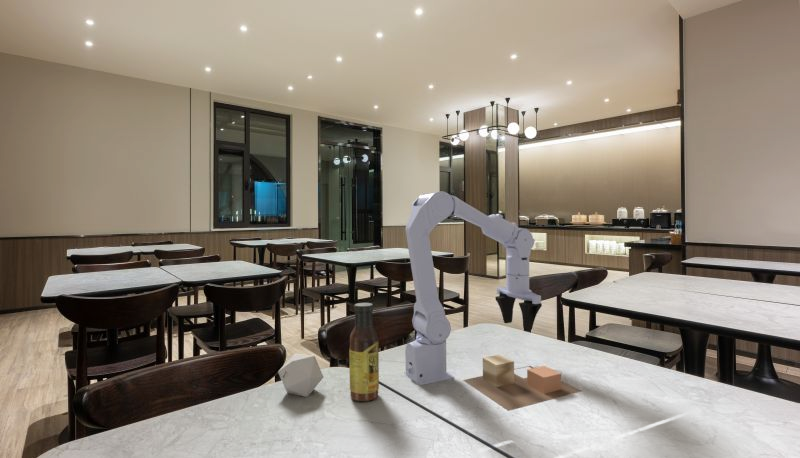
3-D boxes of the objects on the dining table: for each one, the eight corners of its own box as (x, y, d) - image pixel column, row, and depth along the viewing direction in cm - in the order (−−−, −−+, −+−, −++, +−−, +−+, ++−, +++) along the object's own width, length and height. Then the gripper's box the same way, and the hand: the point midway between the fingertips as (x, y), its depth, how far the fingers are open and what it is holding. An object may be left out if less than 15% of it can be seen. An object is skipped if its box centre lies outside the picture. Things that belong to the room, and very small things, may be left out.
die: (285, 387, 92) (266, 362, 87) (318, 362, 96) (302, 337, 90) (299, 413, 86) (280, 388, 80) (334, 386, 89) (318, 360, 84)
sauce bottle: (374, 404, 82) (373, 308, 81) (345, 402, 83) (344, 307, 82) (382, 390, 88) (381, 301, 88) (355, 388, 90) (353, 300, 89)
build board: (508, 412, 78) (508, 409, 78) (462, 381, 92) (462, 379, 92) (582, 392, 86) (582, 390, 86) (529, 367, 101) (529, 365, 101)
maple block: (496, 387, 88) (496, 365, 88) (482, 379, 93) (482, 357, 93) (514, 383, 90) (514, 361, 90) (500, 375, 95) (500, 354, 95)
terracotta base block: (543, 393, 85) (543, 377, 85) (527, 384, 89) (527, 369, 89) (561, 389, 87) (561, 373, 87) (544, 380, 91) (544, 365, 91)
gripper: (550, 276, 98) (550, 331, 99) (511, 269, 111) (511, 318, 112) (528, 278, 95) (528, 335, 96) (490, 271, 108) (490, 321, 109)
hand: (517, 326), depth 104 cm, fingers open, 7 cm apart
